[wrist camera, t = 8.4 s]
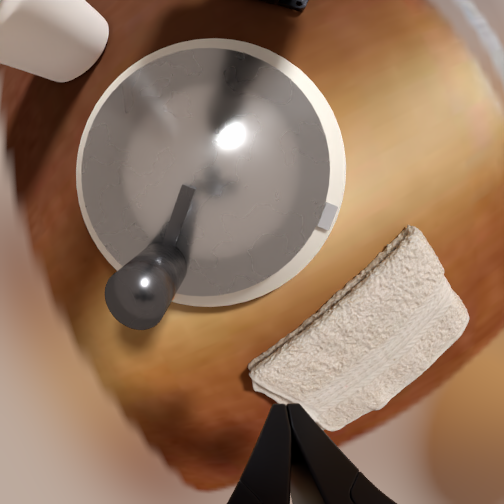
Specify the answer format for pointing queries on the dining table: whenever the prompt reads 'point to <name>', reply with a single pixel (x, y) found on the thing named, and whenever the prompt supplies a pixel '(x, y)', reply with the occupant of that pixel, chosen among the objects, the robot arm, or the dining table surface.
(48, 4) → the can
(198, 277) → the dial
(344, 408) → the washcloth
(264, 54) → the dial base
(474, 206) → the dining table surface
